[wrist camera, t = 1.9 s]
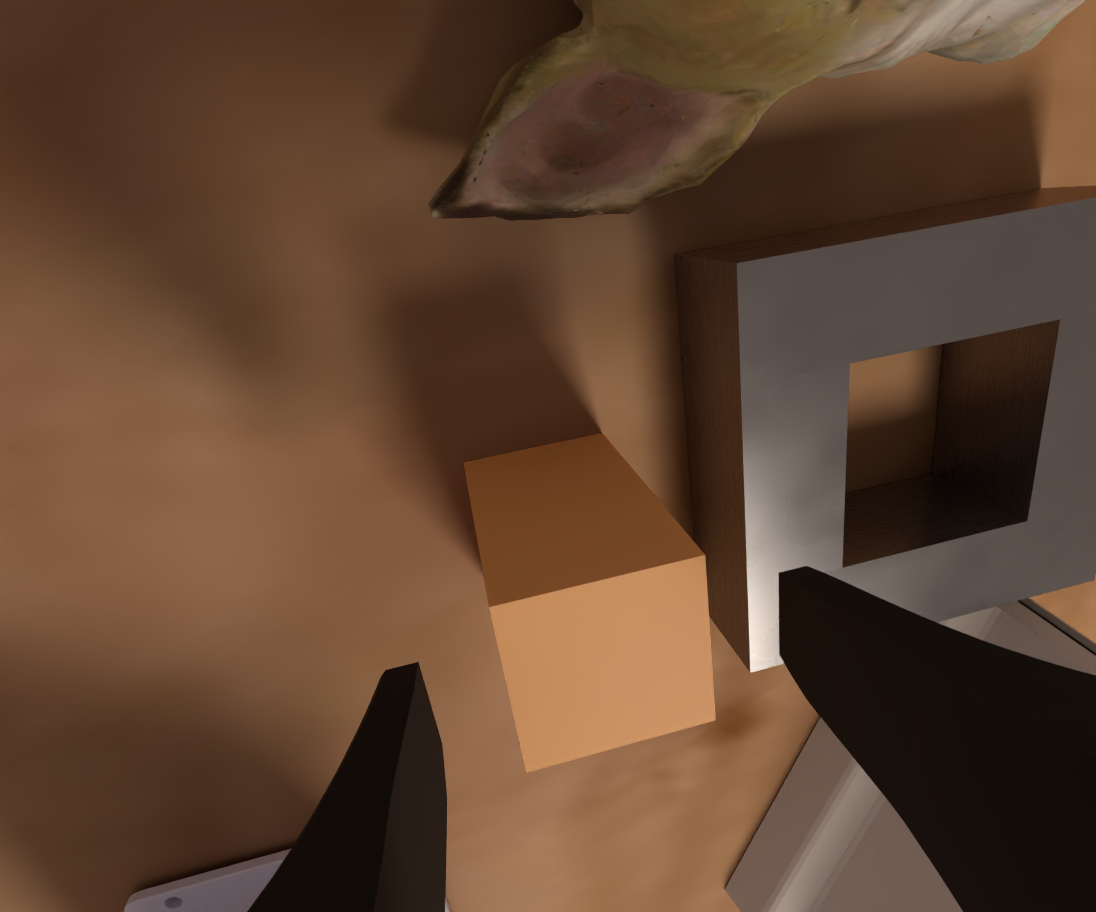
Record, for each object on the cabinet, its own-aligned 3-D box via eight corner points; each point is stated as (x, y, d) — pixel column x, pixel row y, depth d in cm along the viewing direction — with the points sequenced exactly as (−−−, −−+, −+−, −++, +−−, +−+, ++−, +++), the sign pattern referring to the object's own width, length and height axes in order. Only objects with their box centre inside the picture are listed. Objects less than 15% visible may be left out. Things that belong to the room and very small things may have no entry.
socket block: (698, 601, 20) (750, 672, 17) (674, 254, 16) (736, 263, 13) (994, 526, 22) (1093, 580, 19) (1042, 188, 18) (1180, 181, 14)
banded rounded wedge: (911, 553, 22) (1334, 792, 14) (969, 555, 24) (1348, 754, 17) (720, 896, 26) (958, 1216, 19) (786, 865, 29) (1017, 1132, 21)
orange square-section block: (489, 583, 19) (526, 772, 12) (463, 462, 17) (489, 606, 11) (616, 552, 19) (715, 720, 13) (601, 432, 18) (705, 554, 11)
